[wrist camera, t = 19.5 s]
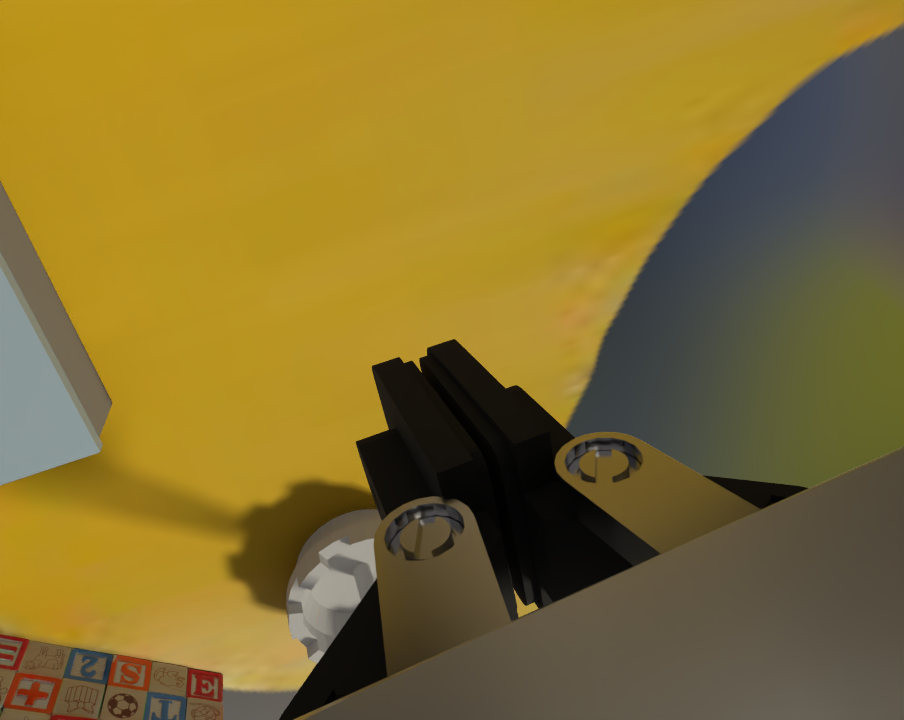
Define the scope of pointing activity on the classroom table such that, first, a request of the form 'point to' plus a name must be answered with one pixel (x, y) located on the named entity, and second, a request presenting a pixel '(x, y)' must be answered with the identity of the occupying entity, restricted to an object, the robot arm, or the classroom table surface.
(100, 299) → the classroom table surface
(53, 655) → the stack of blocks
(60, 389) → the grey flat panel
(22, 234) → the grey open box
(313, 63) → the classroom table surface
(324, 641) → the flag stand
